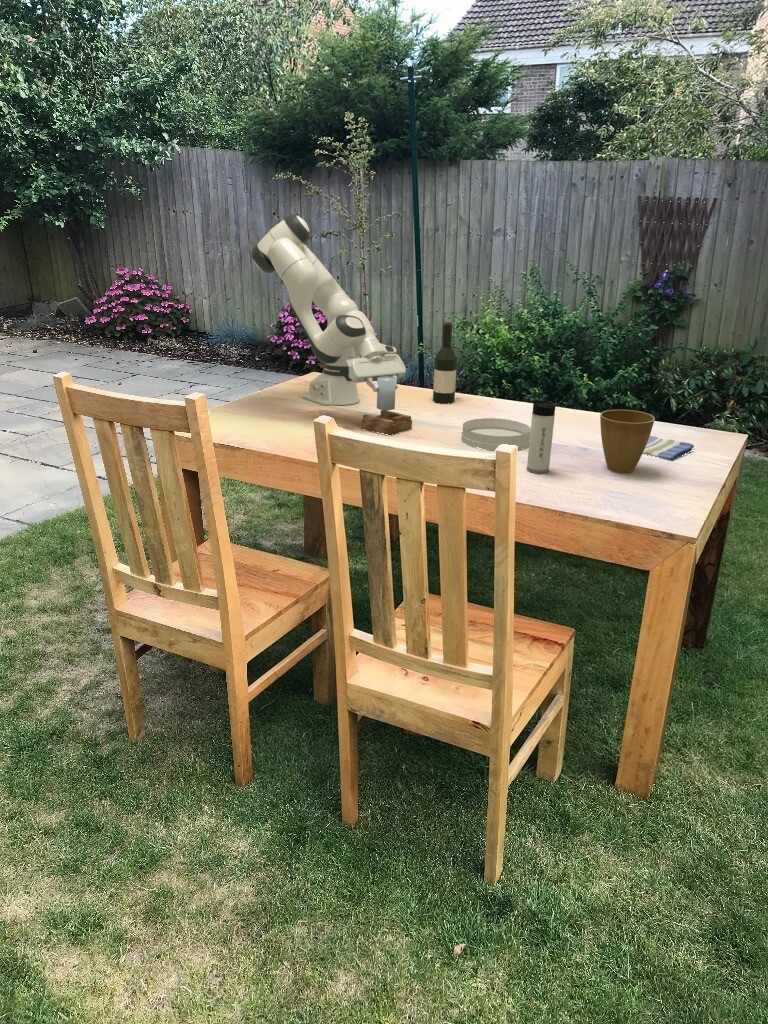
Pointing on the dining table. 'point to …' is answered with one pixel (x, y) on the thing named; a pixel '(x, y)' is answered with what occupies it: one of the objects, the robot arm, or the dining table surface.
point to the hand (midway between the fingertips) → (386, 389)
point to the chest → (387, 422)
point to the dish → (495, 433)
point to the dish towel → (666, 448)
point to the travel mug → (541, 437)
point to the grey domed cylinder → (386, 393)
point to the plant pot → (624, 438)
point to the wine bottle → (445, 369)
